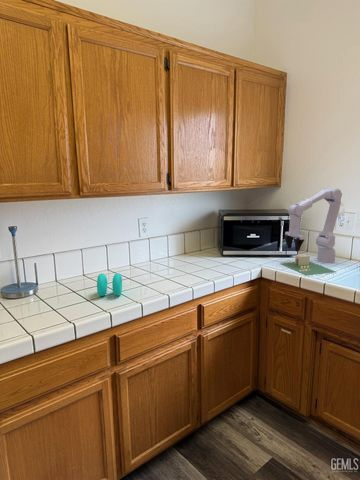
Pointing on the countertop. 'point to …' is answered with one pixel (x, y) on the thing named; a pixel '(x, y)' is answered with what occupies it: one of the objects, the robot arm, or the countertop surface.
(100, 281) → the donuts
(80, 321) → the countertop surface
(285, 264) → the header board
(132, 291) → the countertop surface
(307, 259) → the beige u-shaped channel block
